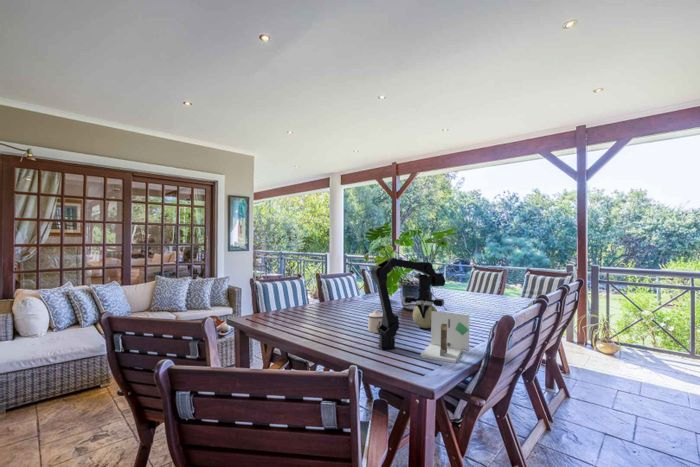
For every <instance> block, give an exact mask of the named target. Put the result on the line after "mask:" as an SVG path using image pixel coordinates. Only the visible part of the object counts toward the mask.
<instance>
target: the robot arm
mask: <svg viewBox="0 0 700 467" xmlns="http://www.w3.org/2000/svg"><path fill="white" fill-rule="evenodd" d="M395 267H397V268H404V269H411V270H413V271H416V272H418V273H417V274H415V276H414V278H417V279H418V289H417V291H418V294H417V295H418V297H415V296H414V295H407V296H405V297H404V303H406V304H411V303H415V307H416V306H418V308H419V310H420V312H421V315H422V318H425V316H426V313H427V311H428V309H429V307H431V306H433V305H434V307H443V306H444V305H445V300H444V299H443V298H435V299H433V293H432V291H431V290H432V288H433V287H434V288H435V287H437V288H438V287H442V288H443V287H444V286H445V285H446V278H445V276H444V274H443V272H438V273H436V271H435V269H434V267H433V263H431V262H429V261H423V260H421V261H411V260H404V259H400V258H396V257H388V258H387V259H386V260H384V261H382V262H380V263H379V264H378V265H374V266H372V268H371V270H370V275H371V278H372V279H373V282H374V283H375V285H376V288H377V292H378V297H379V301H380V305H381V310H382V311H381V312H382V314H383V317H382V324H381V326H380V327H379V328H378V332H379V333H378V334H379V344H378V345H377V346H378V347H379V348H380V349H381V350H382V351H384V350H395V349H396V347H395V345H396V341H395V340H396V338H395V337H396V334H397V332H398V330H399V329H400V324H401V323H400V321H399V315H396V314H395V313H393V308H392V303H391V299H390V294H389V291H388V290H389V289H388V286H387V282H388V274H389V273H390V272H391V271H392V270H393V269H394V268H395ZM431 287H432V288H431ZM424 303H425V304H426V305H424Z"/></svg>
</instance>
